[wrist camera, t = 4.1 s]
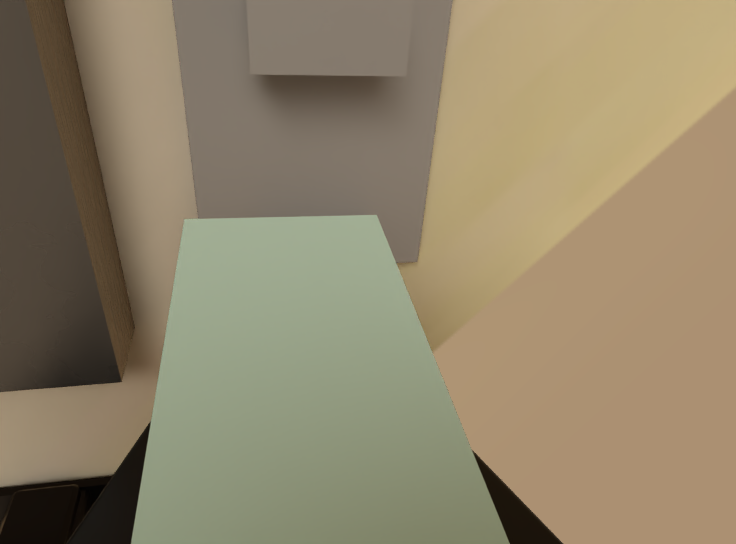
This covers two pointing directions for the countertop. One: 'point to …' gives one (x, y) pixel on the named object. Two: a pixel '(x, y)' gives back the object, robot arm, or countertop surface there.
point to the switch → (53, 216)
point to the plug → (303, 398)
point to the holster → (313, 108)
